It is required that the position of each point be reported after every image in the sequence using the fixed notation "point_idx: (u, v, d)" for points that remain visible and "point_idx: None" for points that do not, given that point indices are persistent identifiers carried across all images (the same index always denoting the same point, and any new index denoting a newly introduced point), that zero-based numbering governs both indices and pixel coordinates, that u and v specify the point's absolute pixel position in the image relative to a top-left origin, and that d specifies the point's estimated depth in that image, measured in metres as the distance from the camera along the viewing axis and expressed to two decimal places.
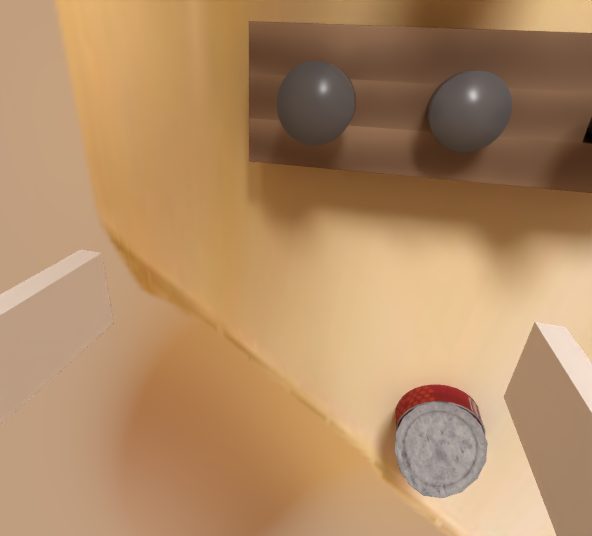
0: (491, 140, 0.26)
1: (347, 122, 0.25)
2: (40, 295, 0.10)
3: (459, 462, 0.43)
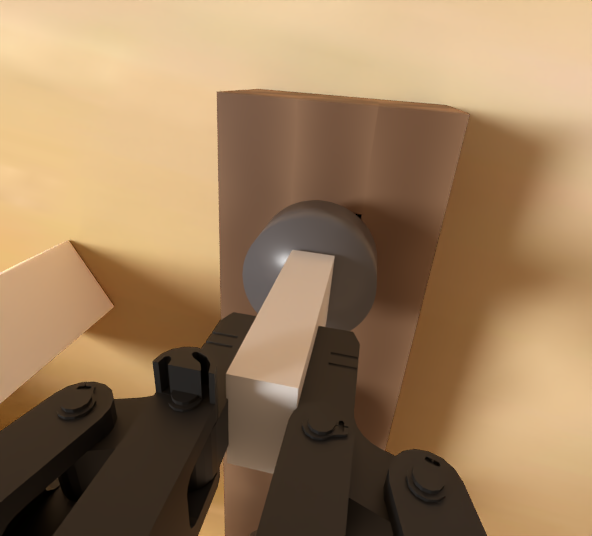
0: None
1: None
2: None
3: None
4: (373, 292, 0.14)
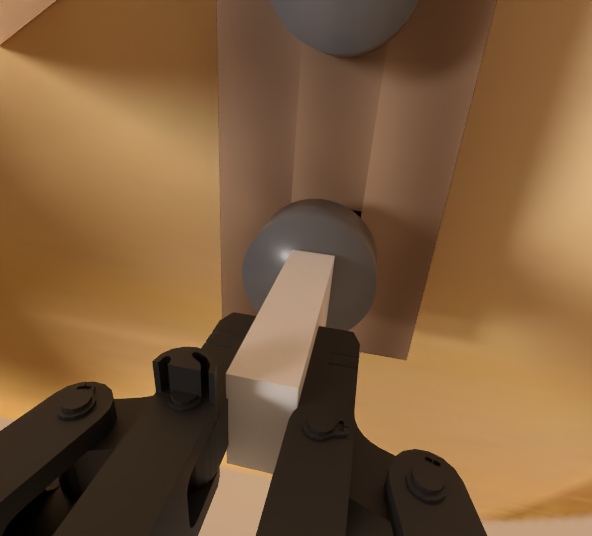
0: None
1: (338, 229, 0.13)
2: None
3: None
4: None
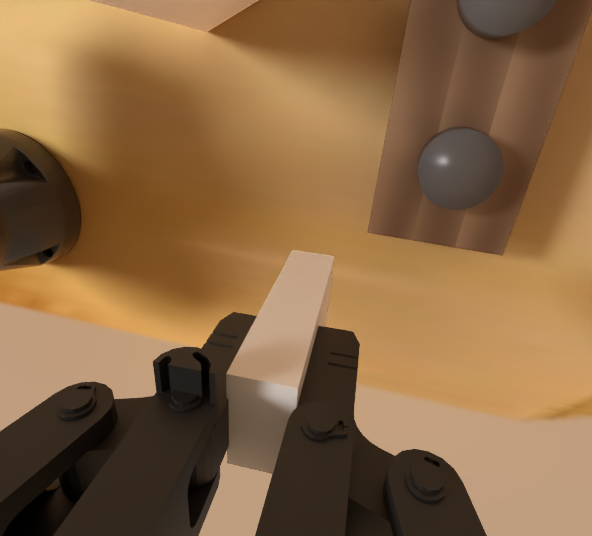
0: None
1: (485, 137, 0.23)
2: None
3: None
4: None
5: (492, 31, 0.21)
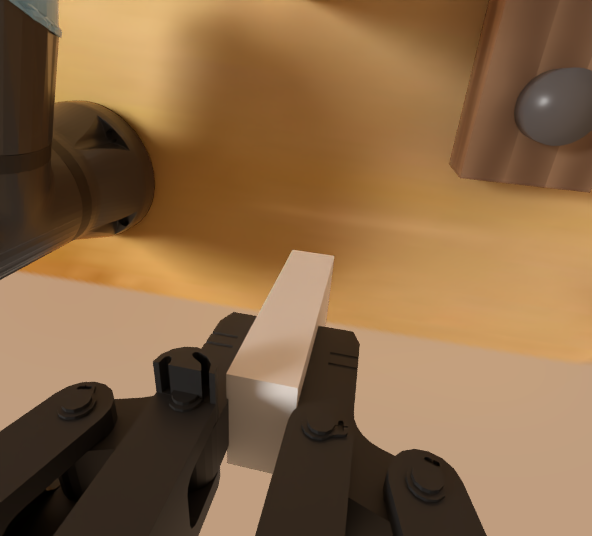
0: None
1: None
2: None
3: None
4: None
5: None
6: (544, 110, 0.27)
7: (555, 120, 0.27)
